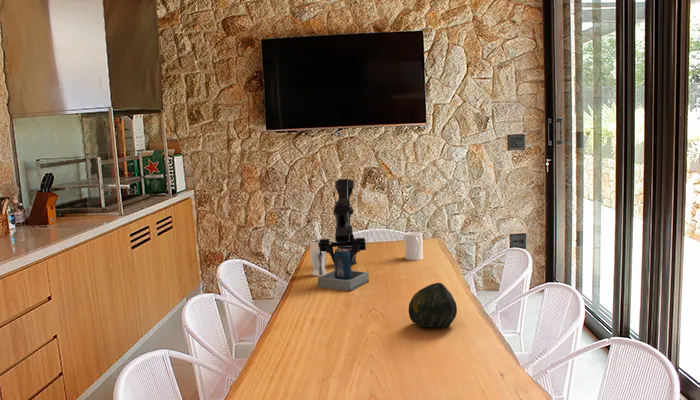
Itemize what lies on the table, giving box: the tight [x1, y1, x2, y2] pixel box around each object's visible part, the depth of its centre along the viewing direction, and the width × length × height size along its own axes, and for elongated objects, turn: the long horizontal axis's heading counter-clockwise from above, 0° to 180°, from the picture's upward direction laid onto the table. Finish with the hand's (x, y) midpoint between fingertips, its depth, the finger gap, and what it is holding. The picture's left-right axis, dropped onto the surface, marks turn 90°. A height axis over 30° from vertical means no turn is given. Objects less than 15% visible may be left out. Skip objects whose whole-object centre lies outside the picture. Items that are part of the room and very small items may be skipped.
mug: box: [404, 231, 424, 261], centre depth 288 cm, size 12×8×12 cm
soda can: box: [333, 248, 352, 280], centre depth 249 cm, size 7×7×12 cm
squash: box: [408, 282, 458, 329], centre depth 197 cm, size 14×15×15 cm
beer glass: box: [309, 238, 327, 277], centre depth 266 cm, size 7×7×15 cm
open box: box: [317, 269, 370, 292], centre depth 250 cm, size 15×15×4 cm
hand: (342, 262), depth 247 cm, fingers closed on soda can, 7 cm apart
